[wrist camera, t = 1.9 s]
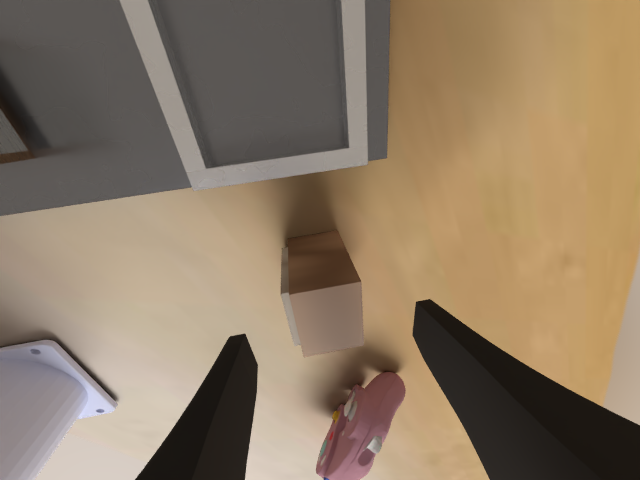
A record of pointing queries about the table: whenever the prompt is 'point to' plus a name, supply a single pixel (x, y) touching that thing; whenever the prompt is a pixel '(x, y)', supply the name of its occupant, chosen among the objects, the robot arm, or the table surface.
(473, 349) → the robot arm
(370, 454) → the video game controller
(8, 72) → the grey holder base
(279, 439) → the table surface
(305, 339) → the wooden block
